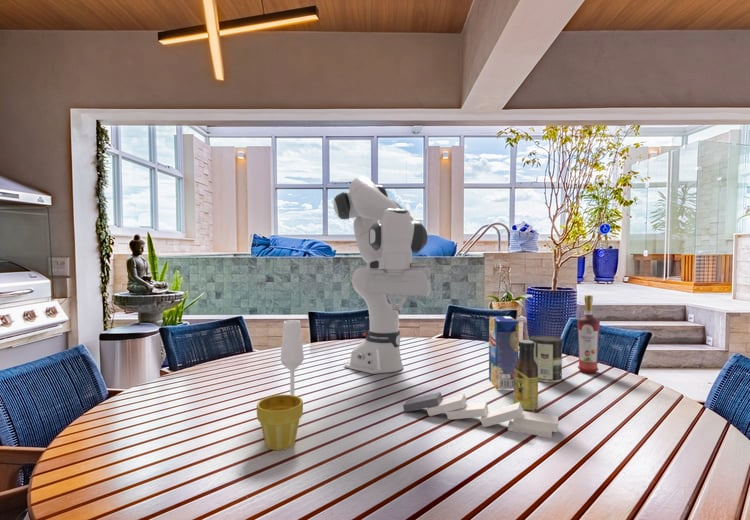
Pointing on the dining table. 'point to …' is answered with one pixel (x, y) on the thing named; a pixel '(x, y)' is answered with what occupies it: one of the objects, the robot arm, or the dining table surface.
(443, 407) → the domino
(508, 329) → the beverage box
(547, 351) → the coffee can
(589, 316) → the liquor
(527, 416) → the domino
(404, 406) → the domino
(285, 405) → the plant pot
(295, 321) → the champagne flute
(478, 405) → the domino
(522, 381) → the sauce bottle
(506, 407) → the domino
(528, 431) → the domino
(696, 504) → the dining table surface
